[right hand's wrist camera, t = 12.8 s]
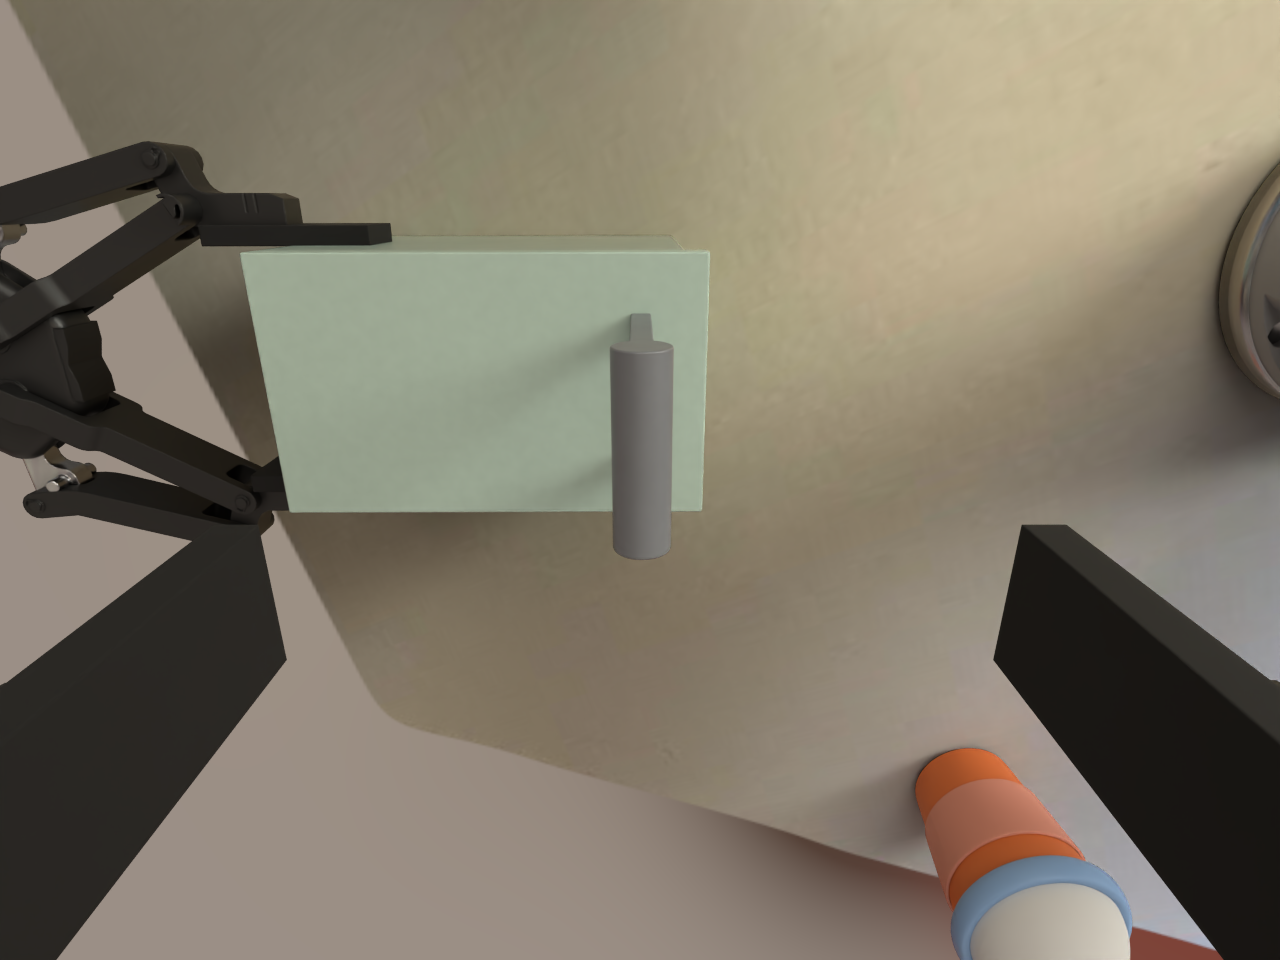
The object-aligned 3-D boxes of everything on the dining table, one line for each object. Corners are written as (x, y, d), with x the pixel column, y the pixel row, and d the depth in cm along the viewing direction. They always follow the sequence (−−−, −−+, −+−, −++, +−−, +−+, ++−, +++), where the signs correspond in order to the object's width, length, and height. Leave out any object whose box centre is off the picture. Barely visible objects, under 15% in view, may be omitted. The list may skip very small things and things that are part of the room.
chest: (671, 235, 35) (684, 249, 25) (669, 422, 39) (679, 500, 29) (363, 235, 35) (255, 250, 25) (388, 423, 39) (302, 501, 29)
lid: (707, 249, 25) (739, 273, 17) (699, 501, 29) (723, 618, 21) (254, 250, 25) (74, 274, 17) (301, 502, 29) (169, 620, 21)
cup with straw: (883, 835, 49) (1010, 1165, 32) (900, 727, 46) (1051, 1032, 29) (1017, 835, 49) (1213, 1165, 32) (1044, 727, 46) (1277, 1032, 29)
